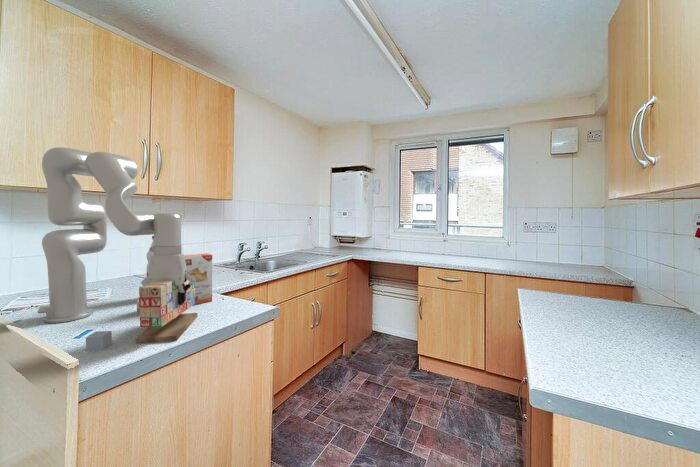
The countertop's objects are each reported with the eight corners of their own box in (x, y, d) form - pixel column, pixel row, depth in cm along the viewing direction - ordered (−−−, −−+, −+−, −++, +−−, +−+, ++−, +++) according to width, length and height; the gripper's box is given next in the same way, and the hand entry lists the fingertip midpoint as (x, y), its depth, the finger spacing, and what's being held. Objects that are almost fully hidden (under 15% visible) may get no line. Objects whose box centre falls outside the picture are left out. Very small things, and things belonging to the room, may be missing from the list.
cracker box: (177, 308, 113) (176, 257, 111) (172, 305, 117) (171, 255, 115) (213, 301, 123) (212, 254, 122) (207, 298, 127) (207, 252, 126)
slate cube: (86, 351, 78) (85, 337, 78) (95, 345, 82) (95, 331, 81) (103, 350, 79) (102, 336, 78) (111, 343, 83) (111, 330, 82)
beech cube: (137, 315, 105) (136, 302, 104) (138, 311, 109) (137, 299, 109) (153, 313, 108) (153, 300, 107) (153, 309, 112) (153, 297, 111)
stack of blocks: (178, 304, 105) (177, 271, 104) (195, 304, 105) (195, 271, 104) (139, 327, 83) (138, 286, 83) (161, 327, 84) (160, 286, 83)
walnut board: (135, 343, 83) (135, 338, 83) (164, 318, 102) (164, 314, 102) (176, 340, 85) (176, 335, 85) (197, 316, 105) (197, 312, 105)
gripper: (131, 252, 87) (133, 309, 88) (193, 252, 90) (194, 306, 92) (143, 249, 94) (145, 302, 95) (200, 249, 98) (201, 299, 99)
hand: (169, 303), depth 93 cm, fingers closed on stack of blocks, 6 cm apart
